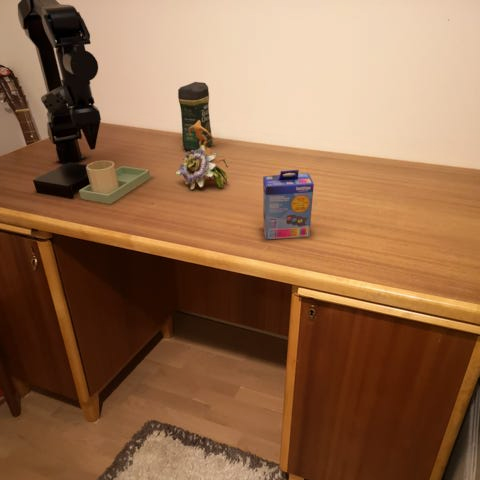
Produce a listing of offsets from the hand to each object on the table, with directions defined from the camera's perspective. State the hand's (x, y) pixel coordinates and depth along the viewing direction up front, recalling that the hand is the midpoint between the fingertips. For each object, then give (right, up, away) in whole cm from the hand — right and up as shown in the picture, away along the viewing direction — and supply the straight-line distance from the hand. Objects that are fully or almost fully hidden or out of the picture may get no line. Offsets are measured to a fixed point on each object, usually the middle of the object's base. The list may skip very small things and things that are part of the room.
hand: (90, 143), depth 115 cm
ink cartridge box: (+47, -25, -14) cm, 55 cm away
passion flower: (+27, -8, +9) cm, 30 cm away
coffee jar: (+24, +11, +33) cm, 42 cm away
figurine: (+26, +3, +22) cm, 35 cm away
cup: (+2, -10, +6) cm, 12 cm away
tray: (+4, -8, +9) cm, 13 cm away
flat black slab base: (-9, -7, +12) cm, 16 cm away
